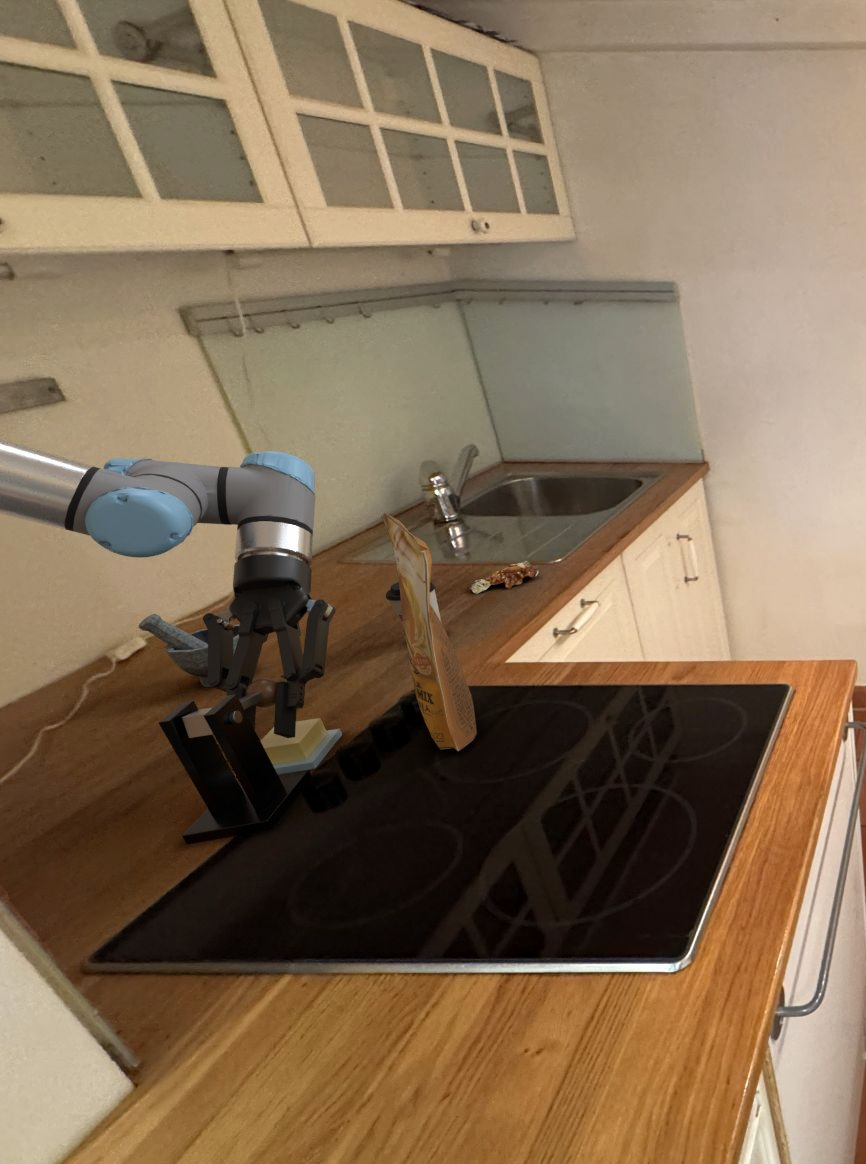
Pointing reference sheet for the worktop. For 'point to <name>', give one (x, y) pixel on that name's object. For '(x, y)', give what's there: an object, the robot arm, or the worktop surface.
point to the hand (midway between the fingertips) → (263, 738)
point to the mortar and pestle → (185, 645)
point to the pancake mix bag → (430, 646)
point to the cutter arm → (256, 694)
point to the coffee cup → (395, 600)
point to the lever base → (227, 799)
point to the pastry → (506, 576)
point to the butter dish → (313, 757)
